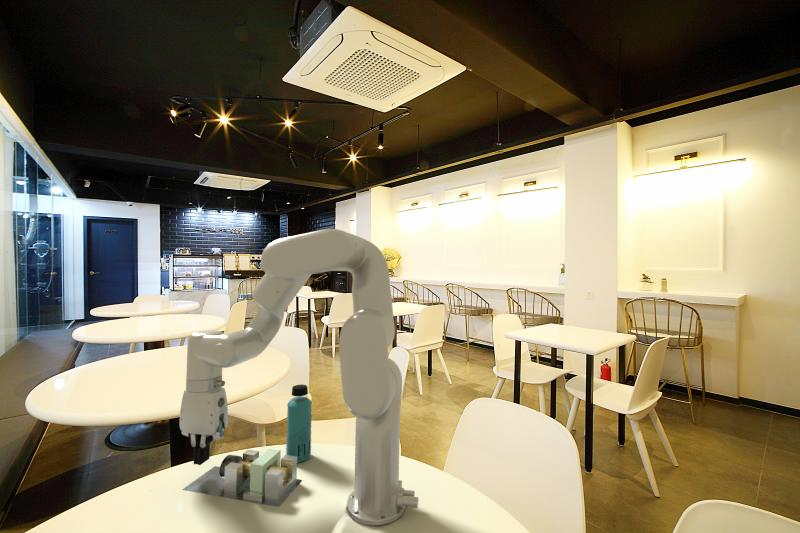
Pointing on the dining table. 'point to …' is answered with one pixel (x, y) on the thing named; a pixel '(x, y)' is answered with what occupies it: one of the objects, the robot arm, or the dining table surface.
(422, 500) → the dining table surface
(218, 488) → the rig
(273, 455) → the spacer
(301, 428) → the beverage bottle
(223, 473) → the shaft
